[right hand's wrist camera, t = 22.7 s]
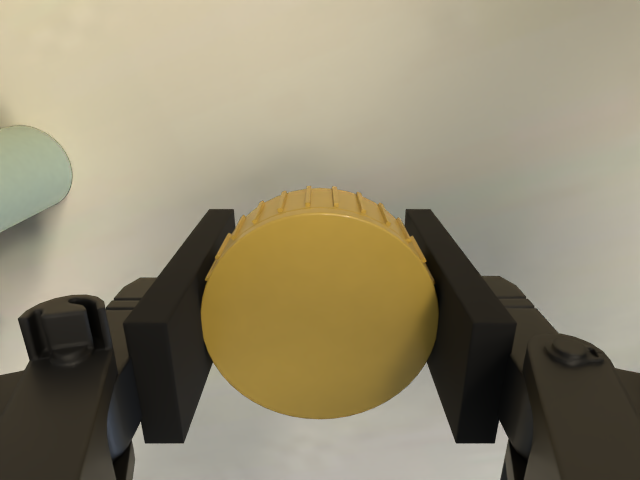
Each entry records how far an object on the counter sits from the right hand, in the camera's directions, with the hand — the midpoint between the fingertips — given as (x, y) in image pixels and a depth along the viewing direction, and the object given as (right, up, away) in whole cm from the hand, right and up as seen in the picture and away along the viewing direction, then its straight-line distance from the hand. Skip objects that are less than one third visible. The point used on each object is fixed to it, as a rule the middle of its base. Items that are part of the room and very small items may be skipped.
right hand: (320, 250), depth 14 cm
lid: (0, -2, -4) cm, 4 cm away
